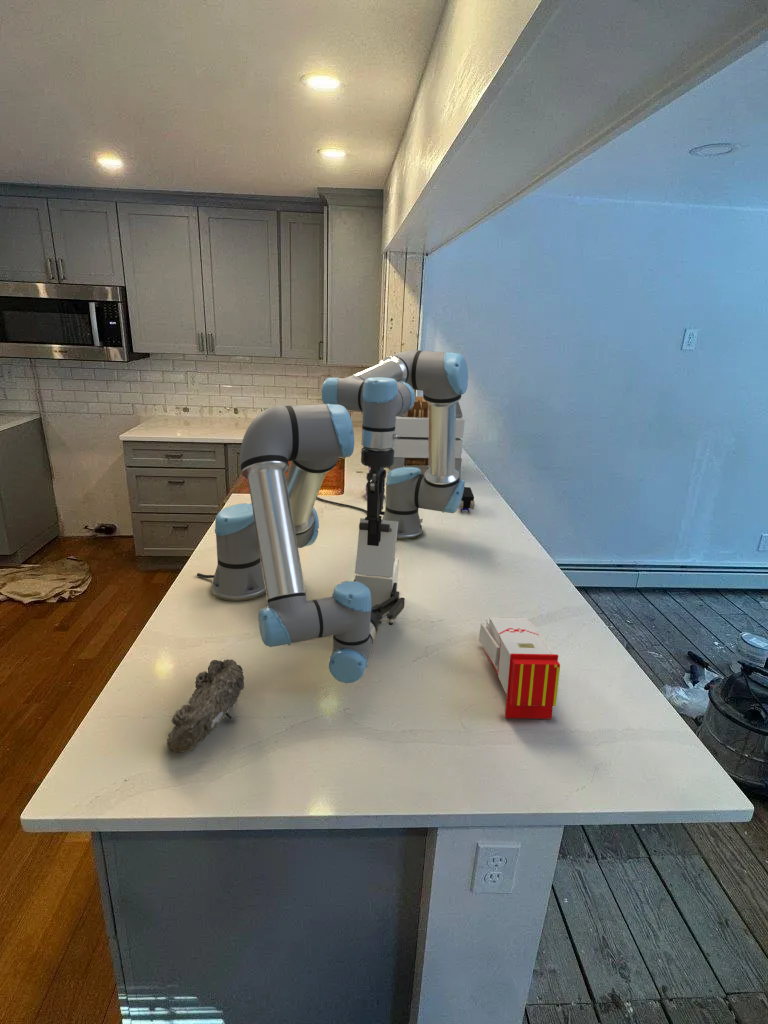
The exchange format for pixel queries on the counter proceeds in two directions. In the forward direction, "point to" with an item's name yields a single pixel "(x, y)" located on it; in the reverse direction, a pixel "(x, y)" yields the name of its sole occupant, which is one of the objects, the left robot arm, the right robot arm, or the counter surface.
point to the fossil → (206, 705)
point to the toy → (522, 666)
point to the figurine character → (467, 500)
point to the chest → (379, 585)
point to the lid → (377, 550)
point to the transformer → (420, 437)
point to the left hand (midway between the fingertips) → (375, 585)
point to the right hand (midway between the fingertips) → (373, 542)
